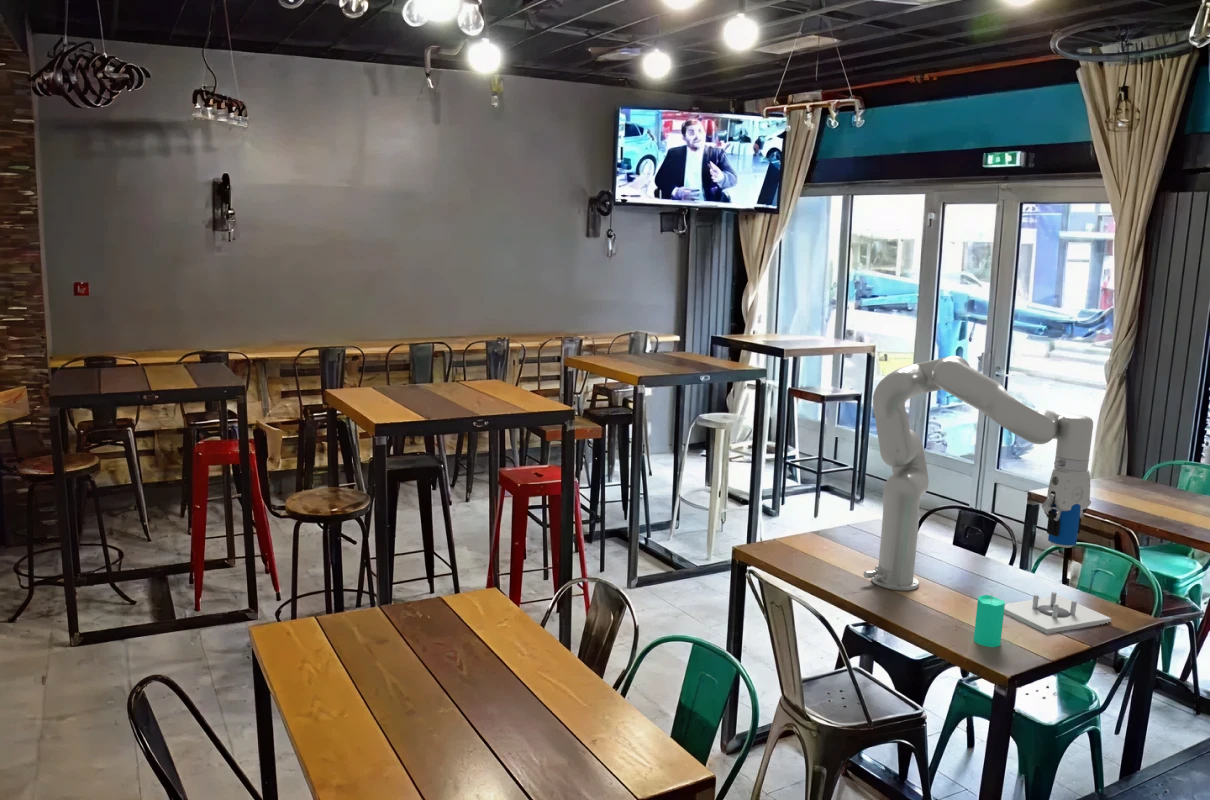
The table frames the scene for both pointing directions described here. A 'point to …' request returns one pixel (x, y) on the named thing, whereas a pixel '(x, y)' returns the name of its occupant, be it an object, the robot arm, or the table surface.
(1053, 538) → the beverage can
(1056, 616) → the pin tray
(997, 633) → the candle
